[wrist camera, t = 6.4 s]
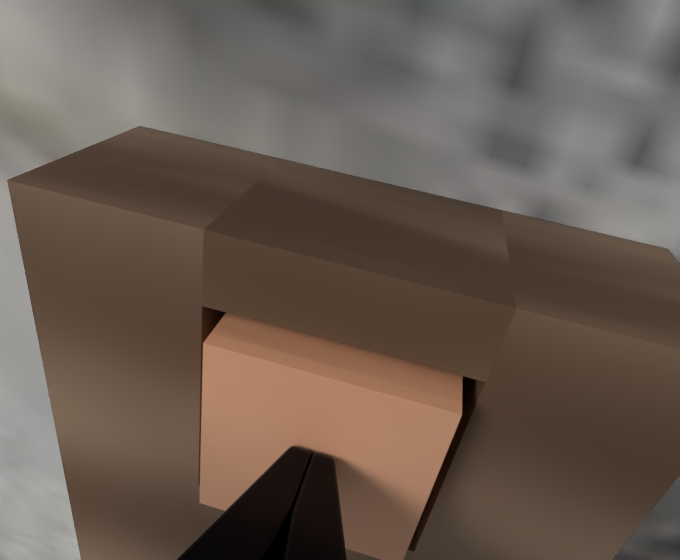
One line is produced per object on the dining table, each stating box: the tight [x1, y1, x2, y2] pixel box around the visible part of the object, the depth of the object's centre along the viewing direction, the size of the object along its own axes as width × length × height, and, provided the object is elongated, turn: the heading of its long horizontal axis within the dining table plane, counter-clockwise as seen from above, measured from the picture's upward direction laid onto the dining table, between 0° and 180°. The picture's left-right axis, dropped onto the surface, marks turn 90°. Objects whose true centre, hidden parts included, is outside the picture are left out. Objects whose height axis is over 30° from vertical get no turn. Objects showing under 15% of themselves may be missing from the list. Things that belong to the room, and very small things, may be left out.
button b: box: [199, 313, 463, 560], centre depth 11 cm, size 4×4×4 cm
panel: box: [7, 126, 680, 560], centre depth 14 cm, size 17×12×4 cm
